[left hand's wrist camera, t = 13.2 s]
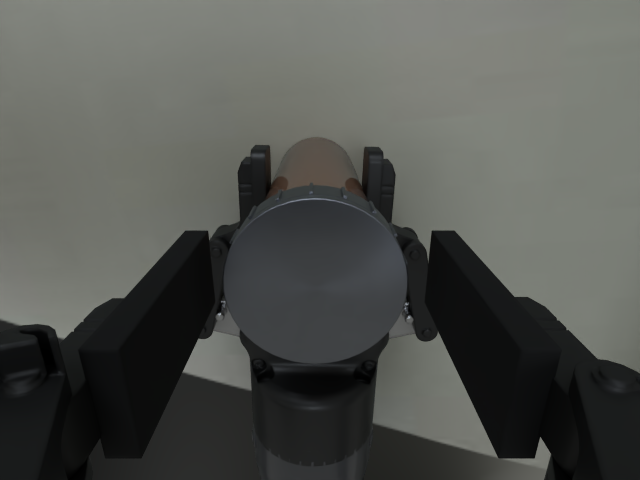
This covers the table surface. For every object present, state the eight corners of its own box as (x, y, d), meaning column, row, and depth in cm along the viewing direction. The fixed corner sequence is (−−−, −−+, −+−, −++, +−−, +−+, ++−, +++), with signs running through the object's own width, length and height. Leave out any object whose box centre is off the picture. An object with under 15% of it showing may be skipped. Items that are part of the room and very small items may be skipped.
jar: (297, 221, 28) (277, 364, 14) (267, 154, 26) (209, 242, 12) (364, 194, 27) (413, 317, 13) (337, 125, 26) (361, 181, 12)
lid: (275, 357, 15) (270, 387, 14) (199, 221, 13) (185, 239, 12) (421, 306, 14) (434, 332, 13) (365, 153, 12) (372, 164, 11)
